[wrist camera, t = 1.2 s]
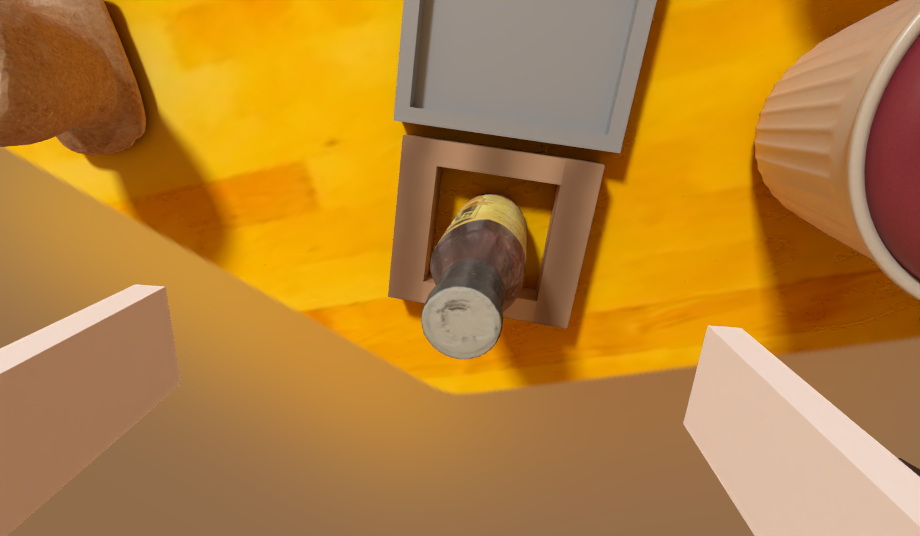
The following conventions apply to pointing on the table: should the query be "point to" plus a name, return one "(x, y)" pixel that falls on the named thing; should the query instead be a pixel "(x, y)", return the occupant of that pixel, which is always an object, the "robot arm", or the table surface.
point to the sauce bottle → (475, 276)
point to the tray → (523, 67)
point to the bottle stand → (431, 154)
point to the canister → (853, 140)
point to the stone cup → (66, 77)
